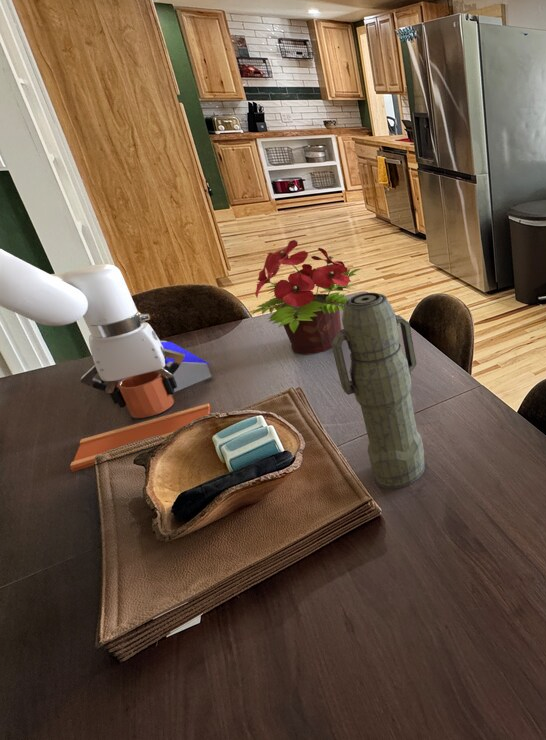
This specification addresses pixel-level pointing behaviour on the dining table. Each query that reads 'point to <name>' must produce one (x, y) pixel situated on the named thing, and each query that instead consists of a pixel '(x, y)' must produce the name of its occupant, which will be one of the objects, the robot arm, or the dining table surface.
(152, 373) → the terracotta pot
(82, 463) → the orange rectangular tray
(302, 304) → the potted plant
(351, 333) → the thermos
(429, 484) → the dining table surface
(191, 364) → the roof
